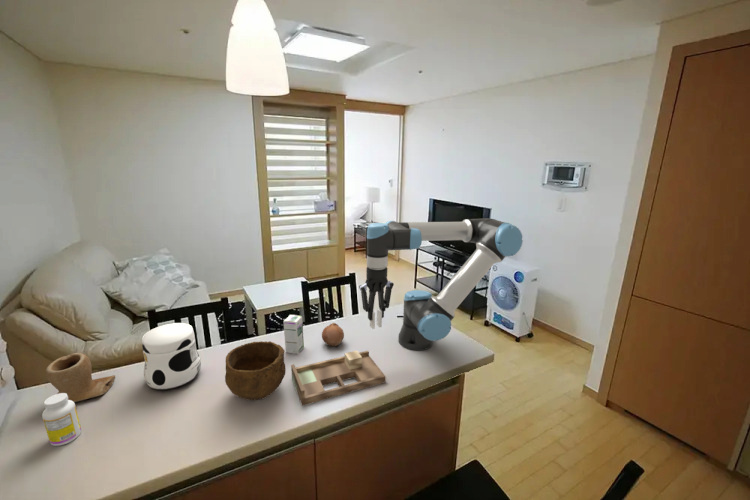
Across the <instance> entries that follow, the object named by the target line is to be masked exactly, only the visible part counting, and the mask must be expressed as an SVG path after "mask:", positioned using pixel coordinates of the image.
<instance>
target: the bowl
mask: <svg viewBox="0 0 750 500" xmlns="http://www.w3.org/2000/svg"><path fill="white" fill-rule="evenodd" d="M285 353H286V350H285V349H284V348H283V347H282V345H280V344H277V343H275V342H272V341H253V342H248V343H244V344H241V345H238V346H236V347H235V348H233V349H231V350H230V351H229V352H228V353H227V355H226V356H225V375H224V378H225V380H224V381H225V385H226V386H227V388H228V389H229V391H230V392H231V393H232V394H233V395H234V396H236V397H237V398H240V399H243V400H247V401H259V400H260V401H261V400H264V399H266V398H268V397H269V396H271V395H272V394H274V392H275V391H277V389H278V388H279V387H280V386H281V384H282V382H283V379H284V378H285V375H286V363H285Z"/></svg>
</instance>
